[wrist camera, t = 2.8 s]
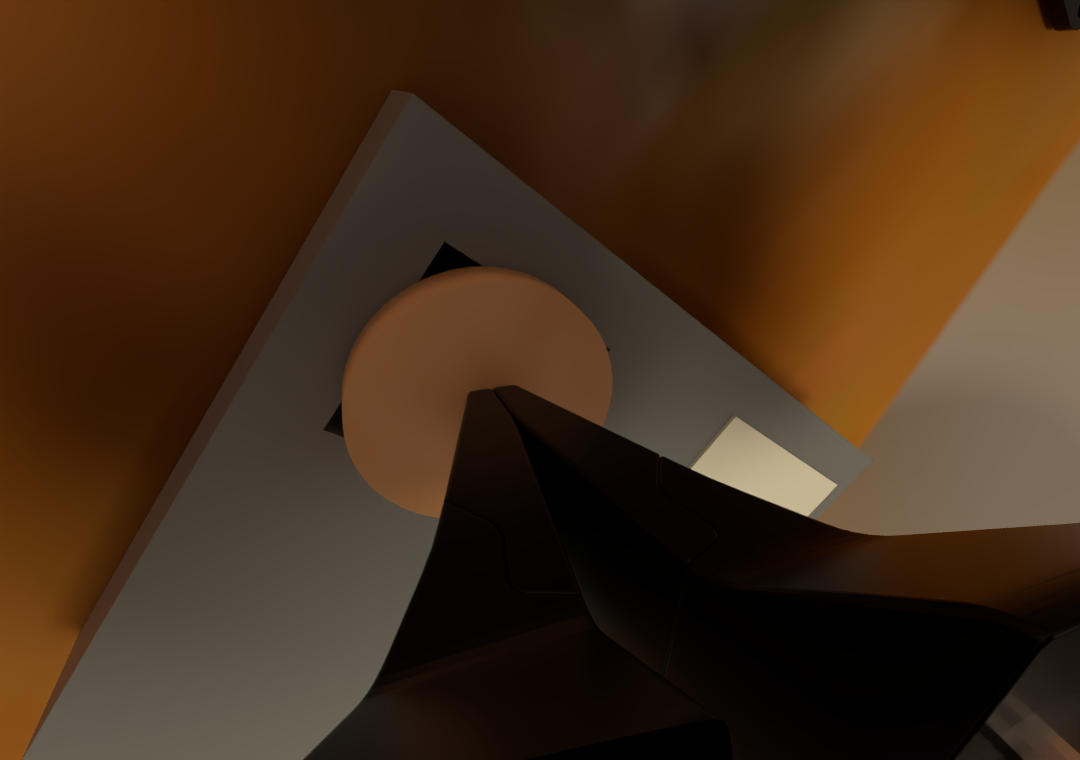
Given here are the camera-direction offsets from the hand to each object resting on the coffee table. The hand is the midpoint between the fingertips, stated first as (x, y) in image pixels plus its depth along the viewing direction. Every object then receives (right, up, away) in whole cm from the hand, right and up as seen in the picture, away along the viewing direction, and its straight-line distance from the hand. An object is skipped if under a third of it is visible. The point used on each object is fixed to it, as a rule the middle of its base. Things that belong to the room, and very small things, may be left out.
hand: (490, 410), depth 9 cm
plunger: (-1, +2, +3) cm, 4 cm away
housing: (0, -3, +6) cm, 7 cm away
